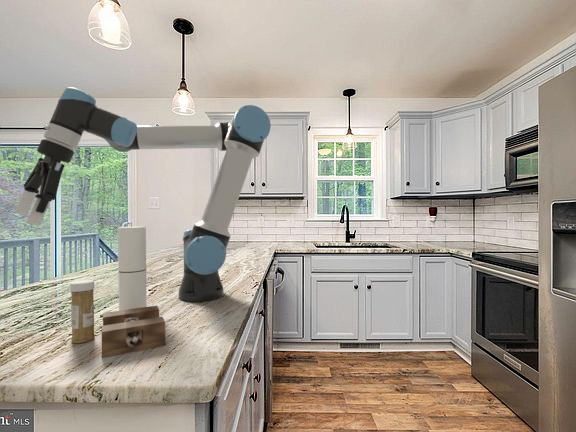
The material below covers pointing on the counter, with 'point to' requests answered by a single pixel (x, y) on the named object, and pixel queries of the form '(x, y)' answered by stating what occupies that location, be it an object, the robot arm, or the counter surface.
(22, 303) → the counter surface
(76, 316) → the sprinkles bottle
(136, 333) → the plunger
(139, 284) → the cylindrical container
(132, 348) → the socket
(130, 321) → the plunger
